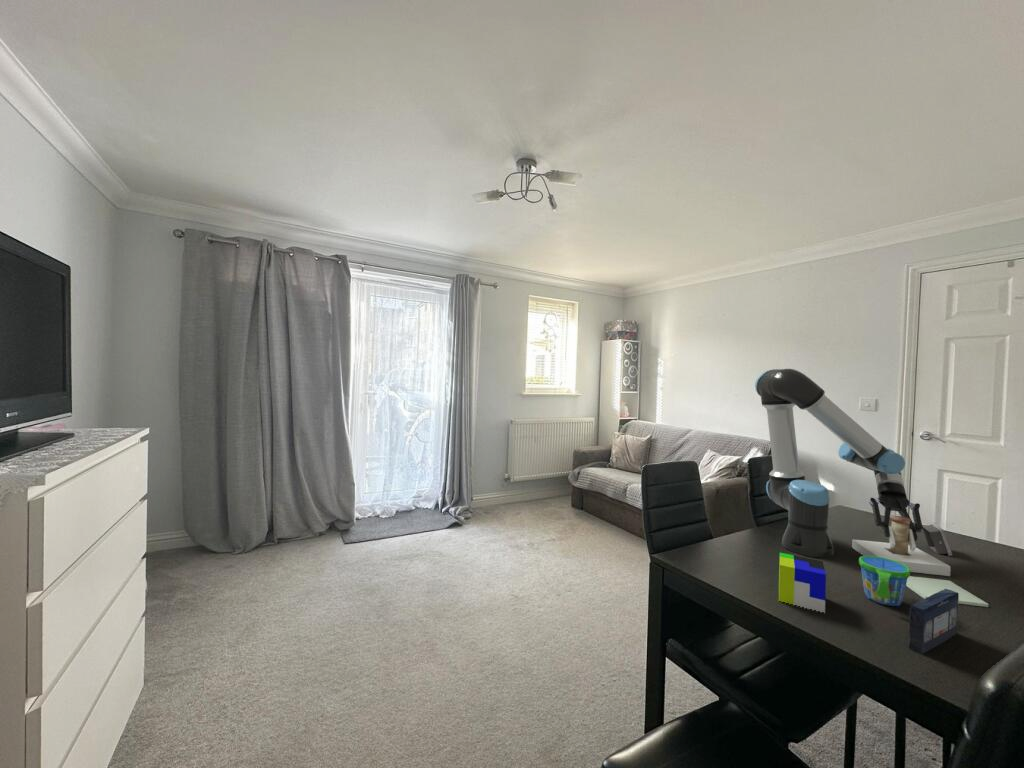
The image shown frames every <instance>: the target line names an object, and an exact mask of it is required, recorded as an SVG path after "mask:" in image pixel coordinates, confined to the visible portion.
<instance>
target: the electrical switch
mask: <svg viewBox="0 0 1024 768" xmlns="http://www.w3.org/2000/svg"><path fill="white" fill-rule="evenodd" d="M922 527H923V528H922V531H923V534H924V537H925V540H926V542H927V545H928V547H929V548H930V549H931V550H933V552H934V553H936V554H937V555H938V554H939V555H941V554H946V555H947V556H948V557H950V556H953V552H952V549H951V547H950V544H949V542H948V539H947V535H946V533H945V530H944V529H943V527H941V526H939V525H938V524H936V523H934V522H930V524H928V525H922Z"/></svg>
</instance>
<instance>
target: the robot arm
mask: <svg viewBox="0 0 1024 768" xmlns="http://www.w3.org/2000/svg"><path fill="white" fill-rule="evenodd" d="M754 387H755V391H756V393H757V395H758V396H760V402H761V406H762V407H764V408H765V409H766V414H767V415H766V417H767V423H768V424H767V425H768V433H769V440H770V441H769V442H770V443H769V444H770V451H771V460H772V470H771V471H770V472H769V474H768V475H769V480H768V481H766V485H765V490H766V494H767V495H768V498H769V499H770V500H771V501H772V502H774V504H776V505H777V506H778V507H781V508H783V509H784V510H787V511H788V515H787V516H788V517H787V519H788V522H787V526H786V529H785V531H784V533H783V535H782V538H781V545H782V547H783V548H785V549H786V550H788V551H790V552H793V553H796V554H798V555H803V556H807V557H813V558H821V559H822V558H824V559H825V558H831V557H834V551H835V550H834V545H833V541H832V539H831V537H830V534H829V513H830V512H829V511H830V507H829V506H830V504H829V503H830V494H829V490H828V488H827V487H826V486H824V485H822V484H821V483H818V482H814V481H810V480H806V475H805V473H804V472H803V471H801V470H800V466H799V465H800V464H799V456H798V445H797V437H796V436H797V435H796V429H795V428H796V427H795V418H794V409H793V408H794V407H795V406H797V408H799V409H800V410H806V412H808V413H810V415H812V416H813V417H814V418H815V419H816V420H818V421H819V422H820V423H821V424H822V425H824V426H825V428H827V429H828V430H829V431H830V432H832V433H833V434H834V435H835V436H836V437H837V438H838V439H840V440H841V441H842V442H843V443H842V444H841V445H840V447H839V448H838V456H839V458H840V459H842V460H844V461H846V462H849V463H851V464H854V465H856V466H860V467H862V468H864V469H867V470H870V471H873V473H874V478H875V483H876V486H877V487H876V490H877V495H878V497H877V498H874V497H870V499H869V501H868V502H869V505H870V506H871V509H872V513H873V517H874V523H875V526H876V527H881V528H882V530H883V534H884V537H886V538H888V541H889V542H888V543H890V547H891V548H894V546H895V539H894V534H893V529H892V526H891V525H890V520H891V512H893V511H894V512H898V514H899V516H901V517H906V518H909V519H910V524H909V543H908V545H910V550H911V551H914V550H915V548H917V546H916V542H917V540H918V535H917V533H921V532H922V531H923V527H922V526H923V523H922V519H921V514H920V507H921V505H920V503H917V502H916V503H914V502H910V500H909V499H908V497H907V493H906V488H905V483H904V480H903V477H902V471H903V470H904V469H905V467H906V461H905V459H904V457H903V456H902V455H901V454H900V453H897V452H895V451H894V450H893V449H890V448H887V447H885V446H884V445H883V443H881V442H880V441H878V440H877V439H876V438H875V437H874V436H873V435H871V434H870V433H869V432H868V431H866V430H865V429H864V428H863V427H862V426H861V425H860V424H858V422H856V421H855V420H854V419H853V418H851V416H849V415H848V414H847V413H846V412H845V411H844V410H842V409H841V408H840V407H839V406H838V405H836V404H835V402H833V401H832V400H831V399H830V398H828V397H827V396H826V395H825V393H826V392H825V390H824V389H823V388H822V387H821V386H819V385H818V384H817V383H816V382H814V381H813V380H812V379H811V378H809V376H807V375H806V374H805V373H803V372H801V371H799V370H796V369H793V368H781V369H780V368H779V369H778V368H776V369H770V370H766V371H764V372H762V373H761V374H759V376H758V377H757V378H756V381H755V383H754ZM879 504H880V505H881V506H882V507H884V515H883V520H882V515H881V512H880V506H879ZM908 507H909V509H910V511H911V512H912V518H913V520H912V518H911V516H910V515H909V513H908V510H907V508H908Z"/></svg>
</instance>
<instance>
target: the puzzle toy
mask: <svg viewBox="0 0 1024 768" xmlns="http://www.w3.org/2000/svg"><path fill="white" fill-rule="evenodd" d="M778 564H779V565H778V567H779V569H778V602H779V601H781V602H780V603H782V602H785V603H784V604H786V603H789V604H788V605H790V604H793V605H792V606H794V605H797V606H796V607H798V606H800V607H799V608H802V607H804V608H803V609H806V608H807V610H810V609H812V610H811V611H814V610H816V611H815V612H818V611H820V612H819V613H822V612H824V613H823V614H826V591H827V589H826V587H827V574H826V570H825V565H824V563H823V560H819V559H814V558H809V557H808V558H807V557H804V556H799V555H794V554H790V553H789V554H788V553H785V552H784V553H783V552H779V562H778Z"/></svg>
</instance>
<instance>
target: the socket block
mask: <svg viewBox="0 0 1024 768" xmlns="http://www.w3.org/2000/svg"><path fill="white" fill-rule="evenodd" d="M851 541H852V542H851V549H854V550H855V551H856V552H858V553H859V554H861V556H877V557H882V558H887V559H890V560H894V561H897V562H899V563H902V564H904V565H905V566H907V567H908V568H909V569H910V573H918V574H927V575H937V576H945V577H951V566H950V565H949V564H947V563H945V562H943V561H942V560H939V559H938V558H936V557H934V556H932V555H931V554H929V553H927V552H925V551H923V550H922V549H919V548H918V547H916V548H915V550H914V551H911V550H910V545H909V544H908V555H898V554H893V553H891V552H890V542H883V541H874V540H863V539H852V540H851Z"/></svg>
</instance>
